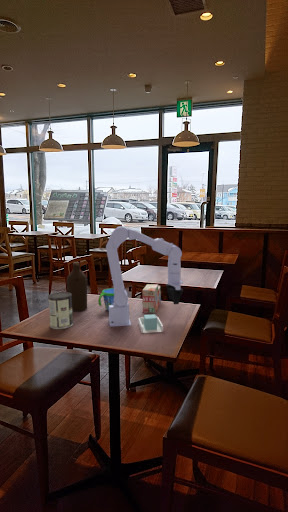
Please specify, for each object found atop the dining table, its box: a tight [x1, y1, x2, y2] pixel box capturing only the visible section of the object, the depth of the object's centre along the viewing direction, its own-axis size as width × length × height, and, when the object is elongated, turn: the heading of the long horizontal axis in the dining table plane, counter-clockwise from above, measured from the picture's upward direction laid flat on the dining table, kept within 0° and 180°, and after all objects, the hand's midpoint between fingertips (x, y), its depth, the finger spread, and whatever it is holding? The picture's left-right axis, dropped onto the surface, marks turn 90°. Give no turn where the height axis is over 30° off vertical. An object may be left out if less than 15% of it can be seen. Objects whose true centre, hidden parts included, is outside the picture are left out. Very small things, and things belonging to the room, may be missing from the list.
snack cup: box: [98, 287, 114, 312], centre depth 163 cm, size 16×10×10 cm
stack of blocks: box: [141, 283, 162, 314], centre depth 166 cm, size 21×6×12 cm, turn 169°
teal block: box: [143, 313, 158, 330], centre depth 136 cm, size 5×5×5 cm
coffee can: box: [47, 291, 74, 330], centre depth 141 cm, size 10×10×14 cm
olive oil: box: [66, 261, 88, 313], centre depth 163 cm, size 11×11×25 cm
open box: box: [137, 316, 164, 334], centre depth 136 cm, size 9×12×3 cm
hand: (174, 301), depth 143 cm, fingers open, 7 cm apart
